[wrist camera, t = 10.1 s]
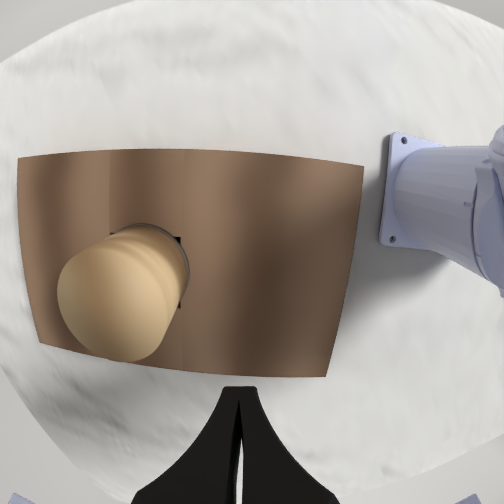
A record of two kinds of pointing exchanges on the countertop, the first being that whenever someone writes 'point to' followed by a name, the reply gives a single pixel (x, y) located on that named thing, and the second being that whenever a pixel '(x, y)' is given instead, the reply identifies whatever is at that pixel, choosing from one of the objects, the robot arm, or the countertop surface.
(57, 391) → the countertop surface
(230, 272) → the walnut board
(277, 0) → the countertop surface
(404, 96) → the countertop surface
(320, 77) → the countertop surface
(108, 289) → the oak peg
